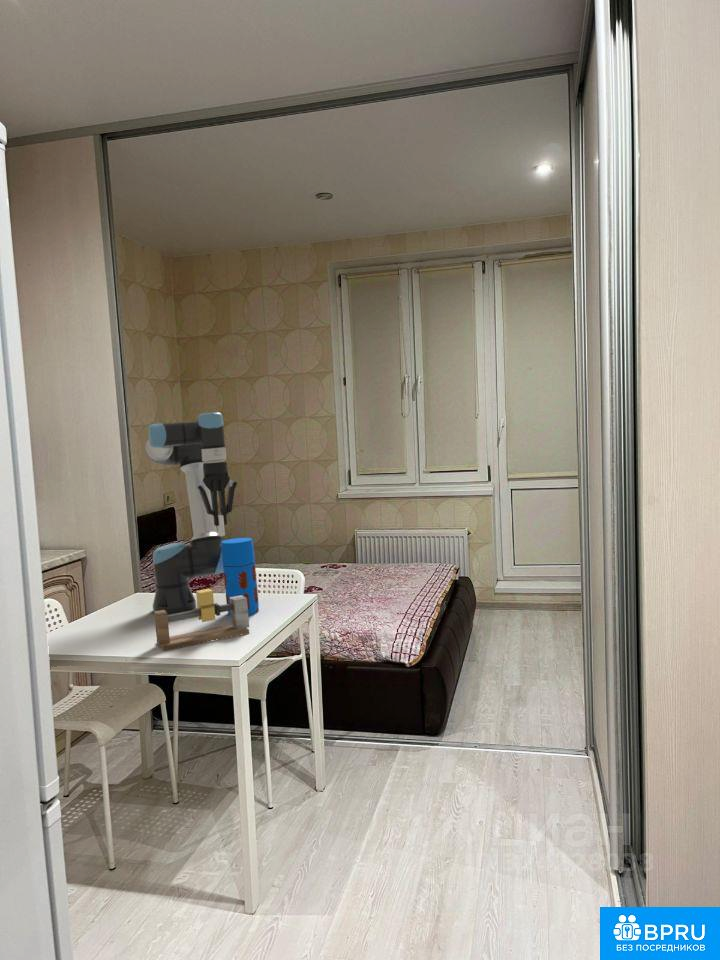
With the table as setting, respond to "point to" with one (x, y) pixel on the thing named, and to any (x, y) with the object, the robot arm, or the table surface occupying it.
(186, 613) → the rod stand
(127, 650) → the table surface
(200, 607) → the sleeve
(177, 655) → the table surface
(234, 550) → the thermos
